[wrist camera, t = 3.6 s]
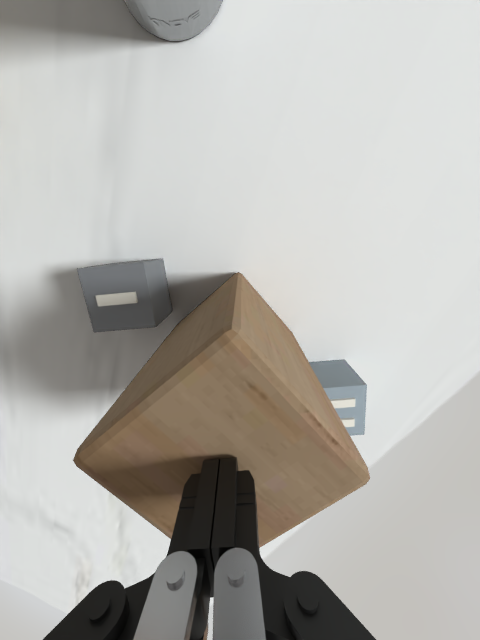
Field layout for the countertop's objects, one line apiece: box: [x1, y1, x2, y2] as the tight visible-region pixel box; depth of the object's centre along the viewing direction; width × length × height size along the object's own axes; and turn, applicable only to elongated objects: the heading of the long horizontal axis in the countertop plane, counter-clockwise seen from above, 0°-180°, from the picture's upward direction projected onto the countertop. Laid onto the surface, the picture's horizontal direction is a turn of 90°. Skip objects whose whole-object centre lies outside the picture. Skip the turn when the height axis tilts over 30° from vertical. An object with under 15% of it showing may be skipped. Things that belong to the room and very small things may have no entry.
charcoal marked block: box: [77, 259, 172, 332], centre depth 27 cm, size 6×6×6 cm
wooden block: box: [73, 272, 370, 548], centre depth 21 cm, size 10×10×20 cm
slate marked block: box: [309, 360, 367, 435], centre depth 30 cm, size 6×6×6 cm
